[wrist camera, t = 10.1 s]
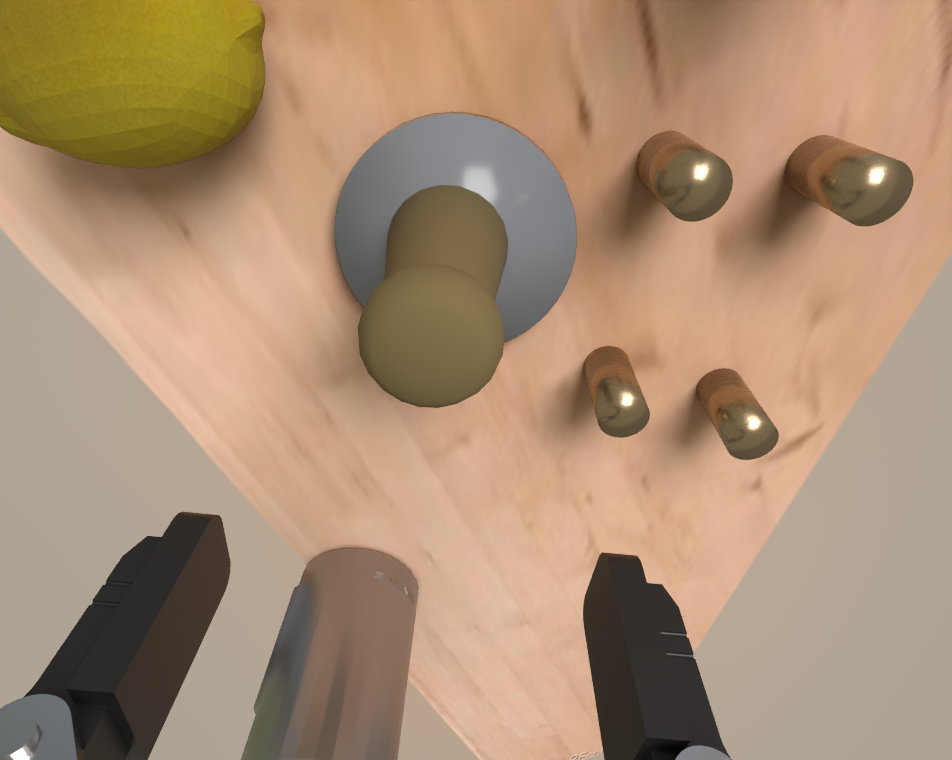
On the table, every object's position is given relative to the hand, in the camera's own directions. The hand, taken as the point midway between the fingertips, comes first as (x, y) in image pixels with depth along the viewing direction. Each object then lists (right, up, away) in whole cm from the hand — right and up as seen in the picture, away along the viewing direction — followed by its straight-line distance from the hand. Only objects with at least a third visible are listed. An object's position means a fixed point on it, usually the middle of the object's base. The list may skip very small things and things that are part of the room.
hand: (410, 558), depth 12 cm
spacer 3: (+16, +3, +21) cm, 27 cm away
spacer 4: (+17, +14, +14) cm, 26 cm away
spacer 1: (+9, +5, +21) cm, 23 cm away
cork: (0, +11, +16) cm, 19 cm away
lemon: (-11, +18, +12) cm, 25 cm away
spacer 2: (+10, +14, +14) cm, 23 cm away
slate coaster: (0, +11, +17) cm, 20 cm away
